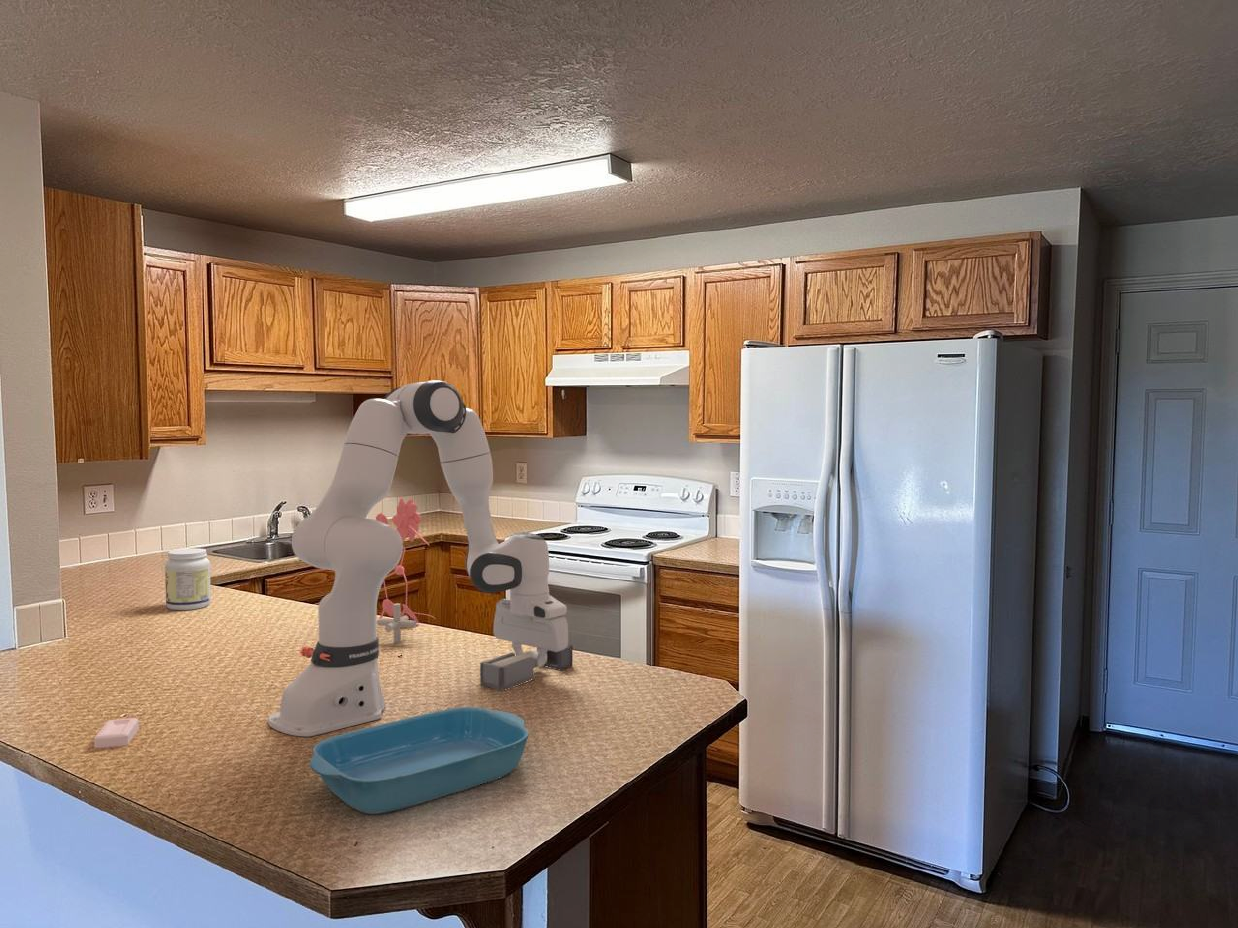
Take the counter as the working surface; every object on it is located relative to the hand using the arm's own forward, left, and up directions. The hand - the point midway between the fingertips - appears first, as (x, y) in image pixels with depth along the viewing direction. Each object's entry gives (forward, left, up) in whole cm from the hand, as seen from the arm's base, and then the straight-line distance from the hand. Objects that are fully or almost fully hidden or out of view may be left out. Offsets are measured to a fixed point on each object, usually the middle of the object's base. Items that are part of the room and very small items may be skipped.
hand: (529, 663), depth 199 cm
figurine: (+16, +61, -3) cm, 63 cm away
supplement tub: (-14, +126, -3) cm, 127 cm away
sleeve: (-7, 0, -2) cm, 8 cm away
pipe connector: (-1, +45, -3) cm, 45 cm away
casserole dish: (-51, -24, -3) cm, 57 cm away
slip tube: (-4, 0, -1) cm, 4 cm away
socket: (+9, 0, -2) cm, 9 cm away
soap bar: (-74, +34, -3) cm, 82 cm away
